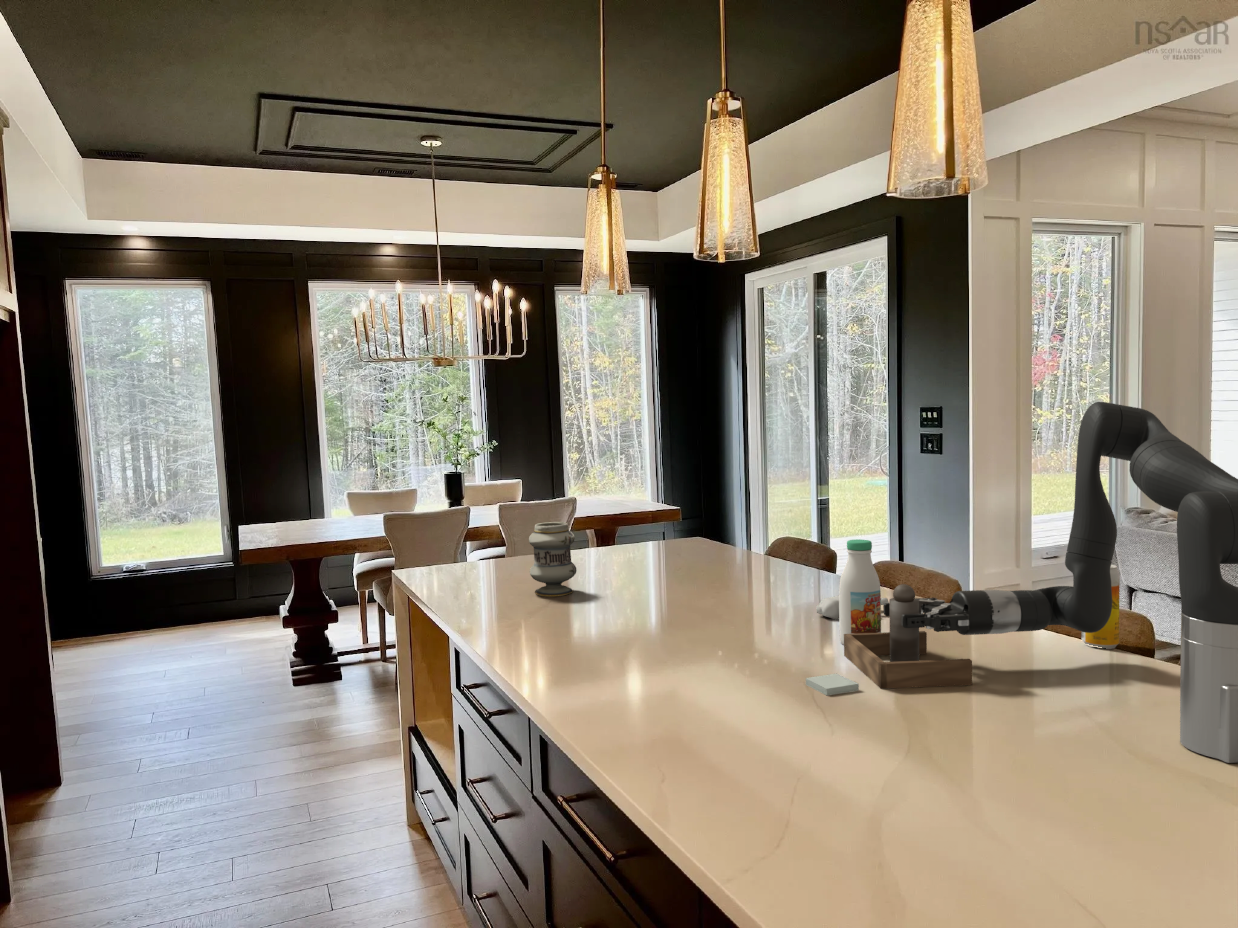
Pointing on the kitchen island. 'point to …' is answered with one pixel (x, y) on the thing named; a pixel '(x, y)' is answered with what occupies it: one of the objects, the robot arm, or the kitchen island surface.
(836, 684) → the ceramic tile
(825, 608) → the bunny figurine
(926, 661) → the box
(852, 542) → the milk bottle
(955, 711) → the kitchen island surface
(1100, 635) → the beer can
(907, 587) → the pepper mill
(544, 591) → the apothecary jar
